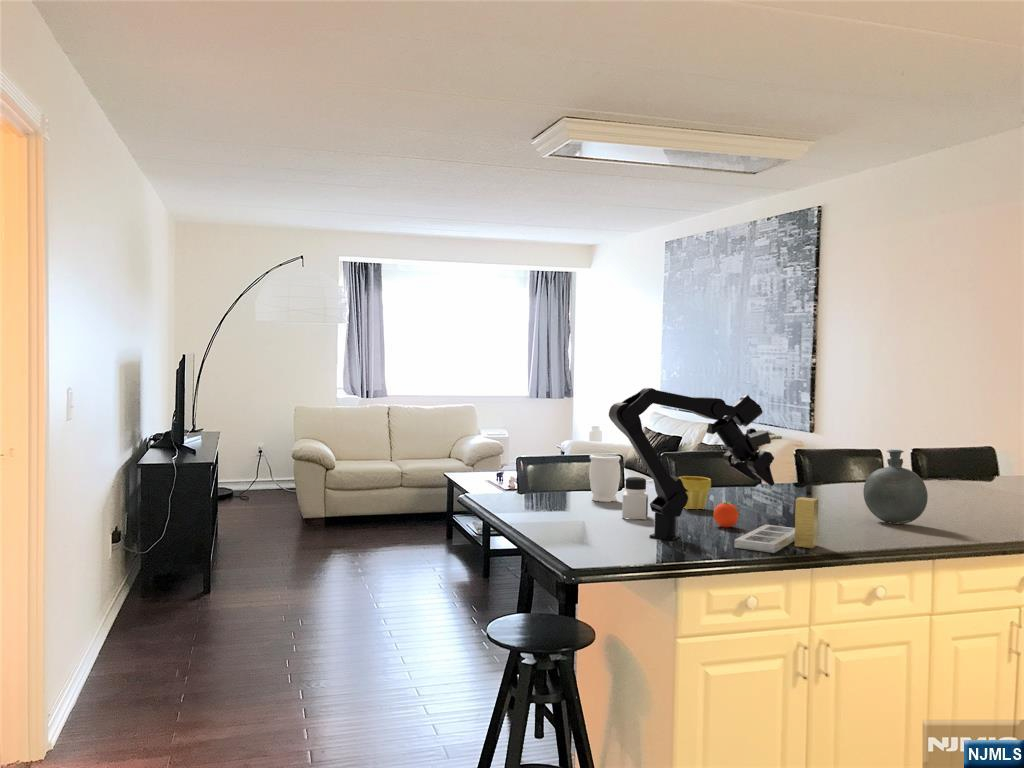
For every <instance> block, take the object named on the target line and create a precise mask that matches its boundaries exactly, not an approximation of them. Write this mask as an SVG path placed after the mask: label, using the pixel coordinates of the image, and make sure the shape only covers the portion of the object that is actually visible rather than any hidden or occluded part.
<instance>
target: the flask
mask: <svg viewBox="0 0 1024 768" xmlns="http://www.w3.org/2000/svg"><path fill="white" fill-rule="evenodd" d="M886 453H889V457H890V458H887V464H888V466H886V467H882V468H877V470H875V471H872V472H871V473H870V474H869V476H868V477H867V478H866V480H865V482H864V485H863V499H864V503H865V504H866V507H867V508H868V510H869V511H870V512H871V513H872V514H873V515H874V516H875V517H876V518H877V519H879V520H881V521H883V522H884V521H885V523H887V522H891V523H900V524H899V525H903V524H905V525H906V524H909V523H911V522H913V521H916V520H917V519H918V518H920V517H921V516H922V514H923V513H924V511H925V510H926V507H927V505H928V499H929V498H928V497H929V495H928V489H927V487H926V483H925V482H924V481H923V479H922V477H920V476H919V475H918V474H917V473H916V472H914V471H913V470H911V469H908V468H904V467H903V464H904V459H903V458H901V456H902V454H903V453H905V451H903V450H901V449H888V450H886ZM891 523H890V524H891Z"/></svg>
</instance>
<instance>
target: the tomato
mask: <svg viewBox="0 0 1024 768" xmlns="http://www.w3.org/2000/svg"><path fill="white" fill-rule="evenodd" d="M713 519H714V521H715V523H716V524H717V525H718V526H720V527H722V528H731V527H734V525H736V523H737V522H738V521H739V511H738V508H737V507H736V506H735V505H734V504H733V503H732V502H726V501H725V502H721V503H720V504H718V505H716V507H714V511H713Z"/></svg>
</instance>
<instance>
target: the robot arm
mask: <svg viewBox="0 0 1024 768" xmlns="http://www.w3.org/2000/svg"><path fill="white" fill-rule="evenodd" d="M653 404H654V405H660V406H664V407H670V408H675V409H679V410H684V411H688V412H690V413H693V414H694V415H696V416H698V417H702V418H705V419H706V420H714V421H715V422H713V423H710V422H709V423H708V424H707V427H706V433H707V434H709V435H710V434H711V435H714V434H717V436H718V437H719V438H720V440H721V441H722V442H723V445H722V447H723V449H725V450H727V451H726V452H725V453H723V454H722V460H723V462H724V463H725V465H727V466H729V467H730V468H732V469H734V470H735V471H737V472H739V473H740V474H741V475H744V476H745V477H747V478H748V479H750V480H751V481H753V482H756V481H757V480H758V478H759V479H760V480H762V481H763V482H765V484H767V485H769V487H772V486H774V485H775V480H774V478H773V475H772V470H771V465H772V463H773V461H774V460H775V457H774V455H773V454H772V452H770V451H766V450H760V448H759V447H762V446H764V445H768V444H771V443H772V441H771V437H770V436H771V435H770V434H769V431H768V430H763V429H761V430H756V428H752V427H751V428H748V429H746V433H744V432H743V431H742V430H741V428H740V427H741V426H743V427H747V426H749V425H751V423H753V422H754V421H755V420H757V418H759V417H760V416H761V415H763V408H762V407H761V405H760V404H759V403H757V402H756V401H755V400H754V399H753V398H751V397H750V396H749V394H748V395H747V394H743V395H742V396H741V397H740V398H739V400H737V401H736V402H735V403H734V404H732V405H731V404H730V405H729V404H726V402H725V400H724V399H721V398H717V397H704V396H701V397H699V396H698V397H697V396H696V397H695V396H693V397H692V396H687V395H683V394H682V395H681V394H678V393H672V392H669V391H664V390H658V389H655V388H652V387H644V388H642V389H640V390H639V391H638V392H637V393H635V394H633V395H631V396H629V397H628V398H626V399H624V400H623V401H621V402H616V403H613V404H612V405H611V406H610V408H609V410H608V411H609V412H608V418H609V419H610V421H611V422H612V423H613V424H614V426H616V428H617V429H618V430H619V431H620V432H622V434H624V435H625V436H626V437H627V439H628V440H629V442H630V444H631V446H632V447H633V449H634V450H635V452H636V454H637V455H638V457H639V459H640V461H641V462H642V464H643V465H644V467H645V469H646V470H647V472H648V474H649V475H650V478H651V479H652V480H653V482H654V483H653V484H654V488H655V492H656V495H657V496H656V497H655V498H654V499H653V500H652V501H651V502H650V503H649V506H650V510H651V512H654V532H653V533H652V534H650V535H649V538H653V539H654V538H655V539H661V540H669V541H673V540H676V539H678V538H681V537H682V534H678V533H677V518H678V517H681V516H682V515H681V514H682V513H683V510H684V507H685V506H686V504H687V501H688V495H687V493H686V492H688V490H687V489H686V488H685V487H684V486H683V483H682V481H681V479H680V478H679V477H677V476H674V475H670V473H669V472H668V470H667V469H666V467H665V465H664V463H663V462H662V460H661V459H660V457H659V456H658V454H657V452H656V450H655V449H654V447H653V446H652V443H651V442H650V440H649V439H648V437H647V435H646V434H645V432H644V430H643V425H642V419H641V417H640V416H641V415H642V414H643V413H645V412H646V410H647V409H649V407H650V406H652V405H653ZM755 452H756V453H755Z"/></svg>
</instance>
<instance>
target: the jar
mask: <svg viewBox="0 0 1024 768" xmlns="http://www.w3.org/2000/svg"><path fill="white" fill-rule="evenodd" d="M589 459H590V464H589V470H588V476H589V477H588V478H589V484H590V485H589V486H590V490H591V493H592V494H593V495H592V497H591V501H595V502H598V501H599V502H600V503H612V502H611V501H614V502H616V501H617V500H618V498H617V497H616V495H617V494H618V491H619V485H620V480H621V465H620V460H621V456H620V455H615V454H605V453H604V454H600V453H599V454H590V455H589Z"/></svg>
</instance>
